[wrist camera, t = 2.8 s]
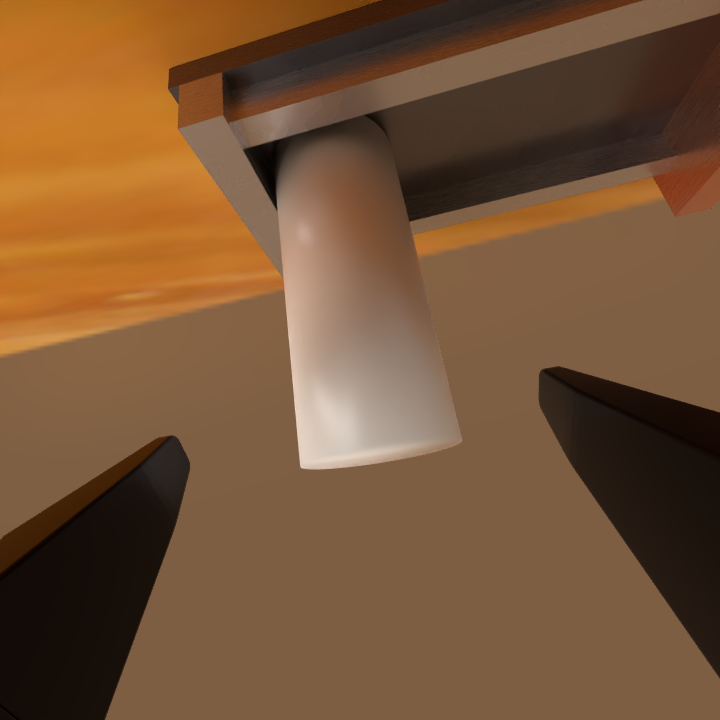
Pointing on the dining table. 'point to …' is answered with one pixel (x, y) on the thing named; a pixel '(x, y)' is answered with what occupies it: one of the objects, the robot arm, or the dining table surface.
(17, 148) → the dining table surface
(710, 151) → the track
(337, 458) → the white cylinder
